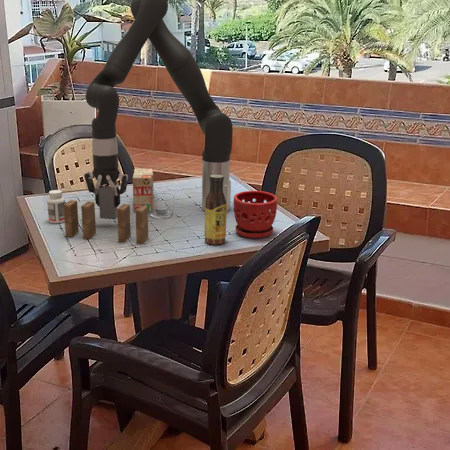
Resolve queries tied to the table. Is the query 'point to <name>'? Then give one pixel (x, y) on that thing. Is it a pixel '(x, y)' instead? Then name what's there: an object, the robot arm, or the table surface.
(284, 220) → the table surface
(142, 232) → the walnut domino
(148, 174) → the stack of blocks
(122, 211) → the walnut domino
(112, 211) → the charcoal domino
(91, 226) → the walnut domino
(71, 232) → the walnut domino
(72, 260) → the table surface
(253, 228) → the plant pot
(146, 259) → the table surface
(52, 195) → the pill bottle
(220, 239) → the sauce bottle
